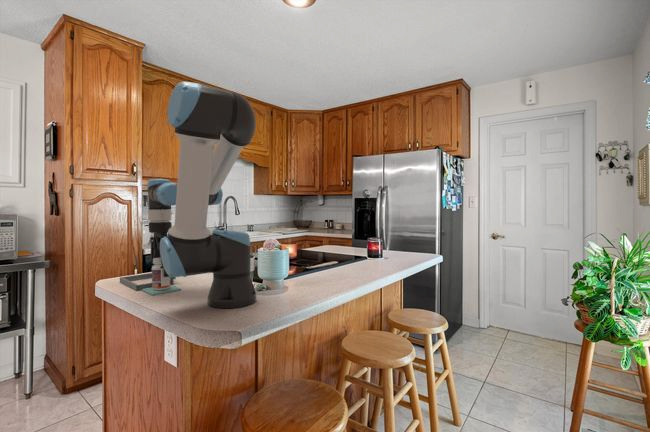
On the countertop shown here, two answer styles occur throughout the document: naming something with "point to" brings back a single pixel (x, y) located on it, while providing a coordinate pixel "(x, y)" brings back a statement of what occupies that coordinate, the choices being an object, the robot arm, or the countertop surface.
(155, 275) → the pill bottle
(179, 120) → the robot arm
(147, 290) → the pad
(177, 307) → the countertop surface
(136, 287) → the case
